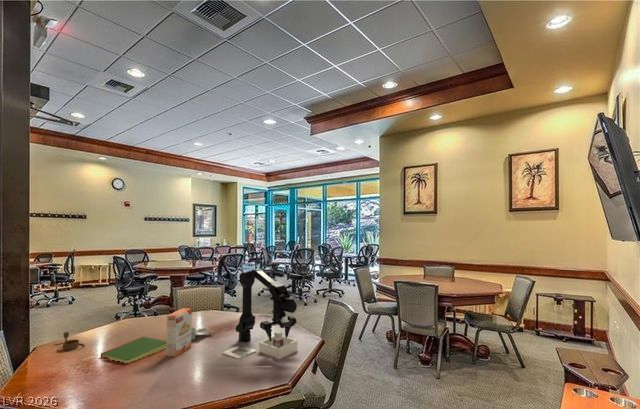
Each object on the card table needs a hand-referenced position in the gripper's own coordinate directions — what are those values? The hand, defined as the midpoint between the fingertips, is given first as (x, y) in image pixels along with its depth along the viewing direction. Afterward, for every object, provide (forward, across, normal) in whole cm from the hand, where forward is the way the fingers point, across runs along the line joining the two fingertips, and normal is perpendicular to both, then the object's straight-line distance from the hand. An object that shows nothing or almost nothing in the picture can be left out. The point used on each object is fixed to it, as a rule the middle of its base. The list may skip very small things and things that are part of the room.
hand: (278, 339), depth 177 cm
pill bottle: (+6, 0, 0) cm, 6 cm away
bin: (+7, 0, 0) cm, 7 cm away
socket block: (+7, -18, +8) cm, 21 cm away
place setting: (+7, -88, +68) cm, 112 cm away
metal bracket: (+5, -23, +43) cm, 49 cm away
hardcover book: (+7, -62, +40) cm, 74 cm away
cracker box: (+7, -42, +29) cm, 52 cm away
